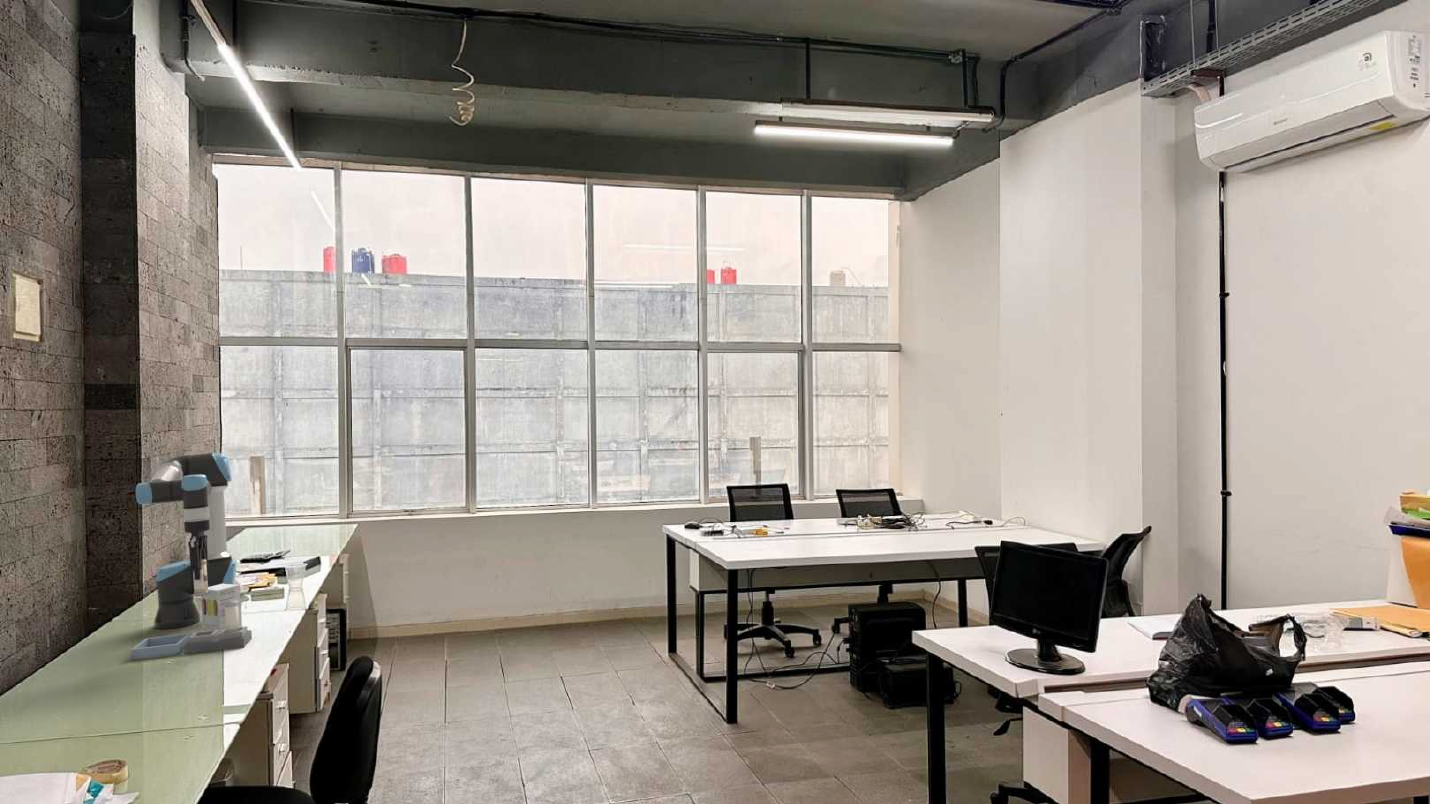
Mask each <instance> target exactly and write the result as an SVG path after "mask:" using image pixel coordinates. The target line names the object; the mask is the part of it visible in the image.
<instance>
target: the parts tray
mask: <svg viewBox="0 0 1430 804" xmlns="http://www.w3.org/2000/svg"><path fill="white" fill-rule="evenodd" d="M191 635H192V633H181V634H174V635H165V636H157V637H156V636H154V637H148V638H144V639H143V640H142V641H141V642H139V643H137V644H136V645H135V646H134V647H132V648H131V650H130V657H131V659H130V660H131V661H134V660H135V661H136V660H143V659H153V658H161V657H163V658H164V657H168V656H178V655H180V654H181V653H182V652H184V651H185V645H186V644H187V643H188V642H189V637H190V636H191Z"/></svg>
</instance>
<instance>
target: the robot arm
mask: <svg viewBox="0 0 1430 804" xmlns="http://www.w3.org/2000/svg"><path fill="white" fill-rule="evenodd" d="M232 479H233V478H232V470H231V467H230V461H229V458H228V457H227V455H226V454H225V453H223V452H221V453H220V452H218V453H217V452H215V453H214V452H211V453H200V454H199V453H198V454H188V455H187V454H186V455H179V456H178V455H177V456H175V457H171V458H170V459H167V460H165V461H163V462H162V463H160V464H159V465H158V466H156V468H155V469H154V471H153V476H152V478H151V479H150V481H145V482H139V483H137V485H136V486H135V499H136V502H137V503H138V504H139V505H153V504H154V505H155V504H164V503H173V502H174V503H176V502H177V503H178V502H182V505H183V507H182V508H183V509H182V511H181V514H182V515H183V520H184V523H183V525H184V528H183V529H184V532H185V533H186V534H189V533H190V537H189V541H187V542H188V543H187V544H188V550H189V551H188V552H189V560H182V561H178V562H174V563H170V564H167V565H164V566H161V567H159V569H157V572H156V581H155V582H156V587H157V600H158V607H157V611H156V615H155V617H154V621H153V623H154V624H153V625H154V626H153V627H154V628H155V629H157V630H158V629H159V630H167V629H176V628H177V629H178V628H182V627H187V626H191V625H194V624H196V623H199V622H200V621H201V613H200V612H199V609H198V608H197V605H196V602H195V598H194V597H195V596H194V592H195V591H194V590H195V589H203V588H204V584H203V569H202V568H201V559H206V561H207V564H206V567H207V579H208V580H207V582H208V587H211V586H215V585H219V584H233V585H235V582H236V573H237V560H236V559H234V558H233V554H231V553H230V552H229V551H228V545H227V544H228V543H227V529H226V528H227V527H226V526H227V525H226V509H225V508H226V507H225V506H226V505H225V494H224V493H225V490H226V489H228V487H229V484H228V483H229V482H232Z"/></svg>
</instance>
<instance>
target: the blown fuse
mask: <svg viewBox="0 0 1430 804" xmlns="http://www.w3.org/2000/svg"><path fill="white" fill-rule="evenodd" d="M206 564H207V561H206V559H201V568H202V569H203V584H204V588H203V589H195V590H194V591H195V592H194V595H193V596H194V597H201V596H205V595H208V594H209V592H208V582H207V580H208V579H207V567H206Z"/></svg>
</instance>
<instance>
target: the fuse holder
mask: <svg viewBox="0 0 1430 804" xmlns="http://www.w3.org/2000/svg"><path fill="white" fill-rule="evenodd" d="M224 607H225V618H226V629H223V630H222V631H221V632H220V633H219V629H218V630H209V631H203V630H201V631H200V630H199V631H195V632H194V633H191V636H190V637H189V642H188V643H187V644H186V645H185V650H184V655H189V654H190V655H191V654H197V653H198V654H199V653H206V652H214V651H215V652H216V651H222V650H224V651H225V650H233V649H241V648H245V647H246V646H247V644H249V643H250V641H252V639H253V634H252V630H251V629H250V630H248V625H247V626H242V627H239V614H238V600H231V601H226V602H224Z"/></svg>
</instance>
